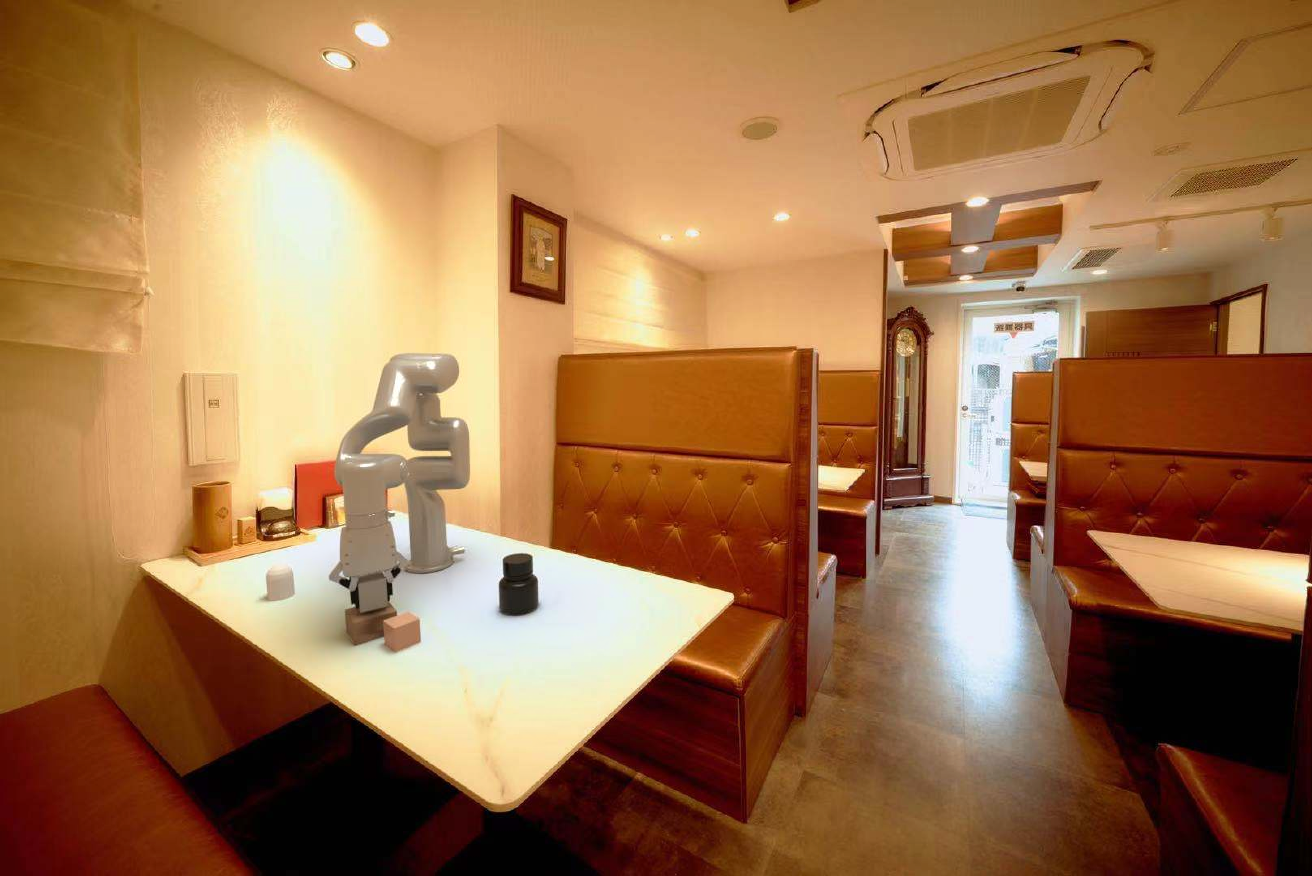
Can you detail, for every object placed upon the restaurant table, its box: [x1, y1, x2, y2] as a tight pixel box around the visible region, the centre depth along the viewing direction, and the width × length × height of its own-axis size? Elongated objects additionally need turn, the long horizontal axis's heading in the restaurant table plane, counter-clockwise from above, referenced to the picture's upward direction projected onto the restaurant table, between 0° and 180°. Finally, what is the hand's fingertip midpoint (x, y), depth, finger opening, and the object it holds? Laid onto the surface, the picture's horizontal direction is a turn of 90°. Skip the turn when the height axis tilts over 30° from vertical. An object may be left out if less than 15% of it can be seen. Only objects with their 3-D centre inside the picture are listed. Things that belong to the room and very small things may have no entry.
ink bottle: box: [498, 552, 540, 616], centre depth 115 cm, size 10×9×12 cm
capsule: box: [265, 563, 296, 602], centre depth 120 cm, size 5×5×8 cm
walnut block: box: [344, 601, 398, 647], centre depth 104 cm, size 8×8×5 cm
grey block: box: [357, 571, 388, 613], centre depth 104 cm, size 5×5×6 cm
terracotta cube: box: [383, 611, 422, 653], centre depth 100 cm, size 5×5×5 cm
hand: (372, 601), depth 104 cm, fingers closed on grey block, 4 cm apart
